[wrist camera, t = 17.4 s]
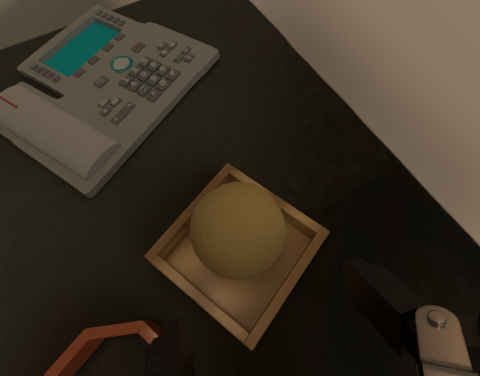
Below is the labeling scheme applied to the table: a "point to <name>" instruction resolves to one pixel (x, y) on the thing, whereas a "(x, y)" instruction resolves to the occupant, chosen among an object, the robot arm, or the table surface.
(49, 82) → the office telephone
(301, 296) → the table surface
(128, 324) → the orange octagonal ring
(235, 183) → the light bulb
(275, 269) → the tray
